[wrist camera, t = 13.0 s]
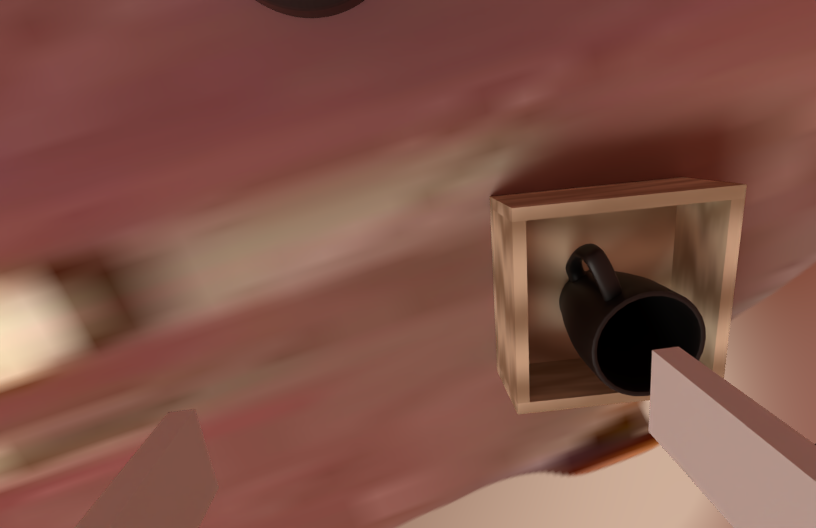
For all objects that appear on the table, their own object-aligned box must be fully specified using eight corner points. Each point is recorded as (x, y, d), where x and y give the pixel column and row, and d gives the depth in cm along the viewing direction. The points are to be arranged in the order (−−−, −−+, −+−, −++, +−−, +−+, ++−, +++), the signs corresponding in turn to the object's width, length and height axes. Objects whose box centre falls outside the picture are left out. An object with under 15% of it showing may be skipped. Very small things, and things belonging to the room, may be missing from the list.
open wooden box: (489, 196, 37) (511, 208, 31) (682, 176, 38) (746, 184, 31) (497, 370, 42) (517, 414, 35) (669, 352, 42) (722, 392, 36)
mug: (593, 201, 37) (660, 220, 28) (647, 311, 40) (723, 361, 31) (509, 250, 38) (547, 285, 29) (567, 355, 41) (619, 416, 32)
